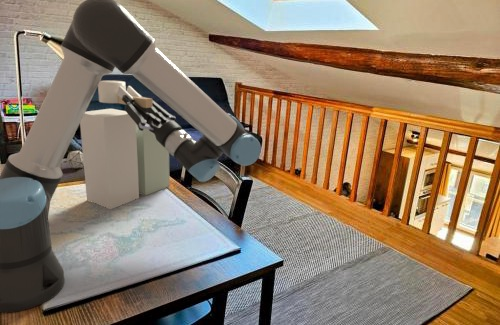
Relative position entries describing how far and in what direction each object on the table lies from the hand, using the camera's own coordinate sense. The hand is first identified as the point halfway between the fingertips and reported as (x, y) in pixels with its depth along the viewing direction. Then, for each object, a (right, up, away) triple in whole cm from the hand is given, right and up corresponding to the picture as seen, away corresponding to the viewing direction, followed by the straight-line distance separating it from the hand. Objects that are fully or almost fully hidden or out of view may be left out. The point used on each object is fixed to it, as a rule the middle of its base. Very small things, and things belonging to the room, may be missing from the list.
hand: (123, 89), depth 109 cm
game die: (-35, -25, +44) cm, 61 cm away
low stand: (-1, -31, +28) cm, 42 cm away
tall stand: (-9, -35, +15) cm, 39 cm away
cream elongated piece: (0, -4, +1) cm, 4 cm away
